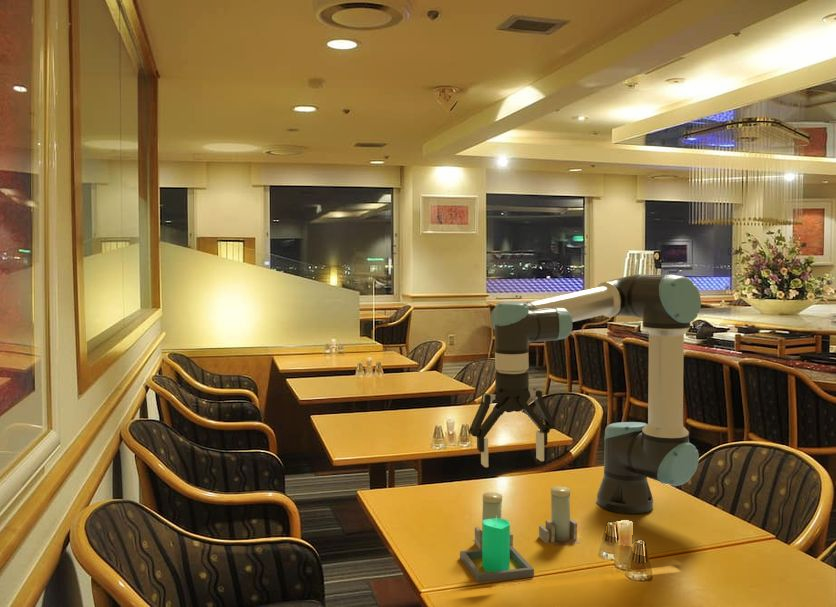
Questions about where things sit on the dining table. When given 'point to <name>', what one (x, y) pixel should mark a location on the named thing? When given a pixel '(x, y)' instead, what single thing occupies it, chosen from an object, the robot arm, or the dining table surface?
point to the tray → (496, 575)
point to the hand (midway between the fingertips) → (512, 462)
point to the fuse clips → (544, 534)
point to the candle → (496, 545)
